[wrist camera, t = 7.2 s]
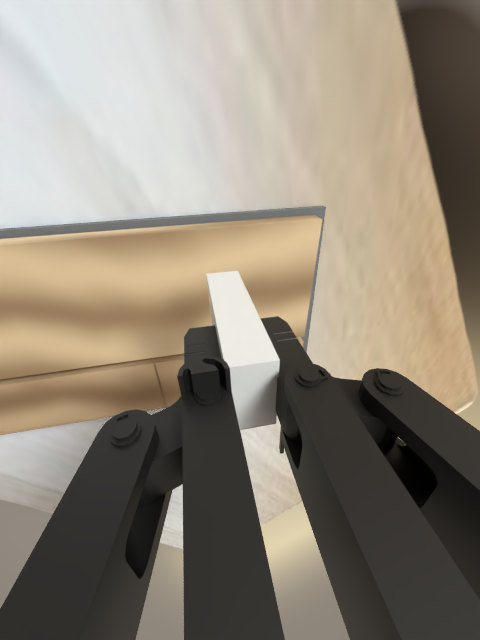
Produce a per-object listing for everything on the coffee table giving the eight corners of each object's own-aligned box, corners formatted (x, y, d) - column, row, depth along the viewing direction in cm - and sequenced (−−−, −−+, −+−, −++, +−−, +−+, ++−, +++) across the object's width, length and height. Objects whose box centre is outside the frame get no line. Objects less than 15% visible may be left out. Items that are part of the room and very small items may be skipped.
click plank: (-184, 252, 15) (-209, 262, 14) (314, 214, 19) (322, 219, 18) (-61, 377, 21) (-72, 389, 20) (299, 328, 25) (304, 336, 24)
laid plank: (-55, 383, 21) (-67, 395, 20) (298, 333, 25) (303, 341, 24) (-17, 427, 24) (-25, 439, 23) (294, 376, 28) (298, 385, 27)
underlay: (-190, 242, 15) (-200, 245, 15) (322, 205, 20) (325, 207, 19) (-23, 427, 25) (-26, 432, 24) (301, 375, 29) (302, 378, 28)
